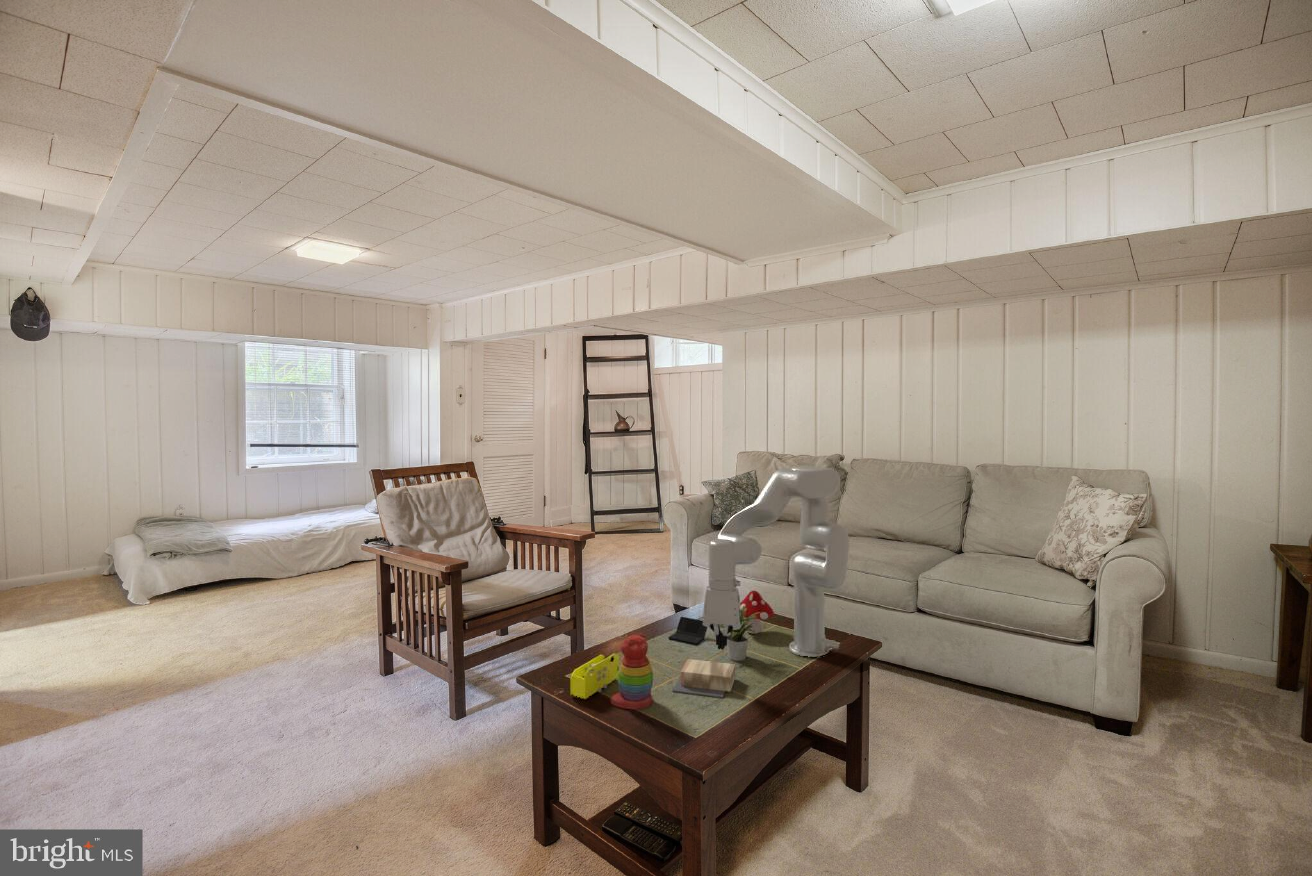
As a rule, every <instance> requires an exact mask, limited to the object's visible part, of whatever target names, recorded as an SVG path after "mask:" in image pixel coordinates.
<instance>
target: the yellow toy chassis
mask: <svg viewBox="0 0 1312 876" xmlns="http://www.w3.org/2000/svg"><path fill="white" fill-rule="evenodd" d="M619 669H620V656H619V655H618V654H617V653H613V654H611V655H609V656H605V655H604V654H599V655H598V656H596V657H594V658H592V659H591V660H589V661H587V662H586V663H584V664H582V665H580V666H579V667H577V668H575V669H573V672H572V674H571V675H570V676H569V677H570V681H569V682H570V683H569V684H570V696H572V695H573V696H574V697H576V696H577V697H576V698H579V697H580V698H579V699H583V700H586V699H588V698H590V697H589V696H591V697H592V695H593V694H595V693H597V692H598V693H601V692H602V688H603V689H607V688H608V685H610V684H611V683H612V682H614V681H615V680H616V679H618V673H619Z"/></svg>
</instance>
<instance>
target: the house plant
mask: <svg viewBox="0 0 1312 876" xmlns="http://www.w3.org/2000/svg"><path fill="white" fill-rule="evenodd" d="M746 609H747V608H745V609H744V607H743V609H742V611H741V613H740V625H741V627H740V629H737V630H732V631H731V632H730V633H729V634H727V646H726V647H727V654H728V658H729V659H730V660H732V661H736V662H737V661H738V662H739V661H740V662H741V661H744V660H745V659H746V656H747V651H748V650H747V649H748V645H749V637H748V636H747V633H746V632H748V631H752V632H754V633H755V631H754V630H751V629H749V628H752V627H753V626H752V624H755V623H752V624H750V625H749V626H747V627H746V625H748V621H749V620H750V619H751V618H757V617H758V616H757V617H754V615H755V614H757V613H754V614H752V615H751V616H749V617H748V618H744V617H745V612H746ZM758 613H760V612H758ZM750 623H751V622H750ZM720 629H724V625H720ZM747 630H748V631H747ZM745 633H746V634H745ZM744 634H745V635H744ZM755 635H757V634H756V633H755Z"/></svg>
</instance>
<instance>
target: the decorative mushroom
mask: <svg viewBox="0 0 1312 876" xmlns="http://www.w3.org/2000/svg"><path fill="white" fill-rule="evenodd" d="M763 598H764V597H763V596H762V594H761V593H760V592H758V591H757V590H751V591H749V592H748V593H747V594H746V596H745V597H743V598H742V600H741V601H740V613H741V611H742V609H743V607H744V609H745V608H747V609H746V612H745V617H744V619H746V618H748V617H749V616H751V615H752V614H754V613H757V614H755V615H754V617H757V616H758V617H757V618H751V619H750V620H749V621H748V625H746V626H745V627H747V626H749V625H750V624H752V623H755V624H752V626H753V627H752V628H749V629H751V630H754V631H755V633H756V634H755V633H754V632H752V631H748V630H747V631H746V632H747V633H750V634H753V635H754V634H755V635H757V634H759V633H761V632H762V629H763V628H762V623H761V620H766V619H769V618H772V616H774V614H775V612H774V610H773V608H772V607H771V605H770V604H769V603H768V602H767V601H765V599H763ZM758 612H760V613H758ZM750 622H751V623H750Z"/></svg>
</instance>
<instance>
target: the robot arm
mask: <svg viewBox="0 0 1312 876" xmlns="http://www.w3.org/2000/svg"><path fill="white" fill-rule="evenodd" d="M840 486H841V478H840V474H839V473H838V471H836V470H835V469H833V468H831V467H822V466H811V465H796V466H793V467H792V468H780V469H777V470H775V471H774V472H773V473H772V475H771V476H770V478H769V479H768V481H767V482H766V484H765V485H764V487H763V488H762V490H761V492H760V493H759V495H758V496H757V497H756V499H755V500H754V501H753V502H752V504H750V505H749V506H746V507H745V508H743V509H742V510H740V511H739V512H737V513H735V514H734V515H732V516H731V517H730V518H729V519H728V520H727V521H726V523H725V525H723V527H722V529H721V530H720V532H719V533H718V535H717V537H716V538H715V539H712V540H710V542H709V544H708V585H707V586H706V588H705V593H704V602H703V611H702V612H703V614H702V615H703V616H702V617H703V620H702V621H703V626H706V627H707V628H710V630H712V632H713V633H714V635H715V646H717V650H722V651H724V649H725V647H727V636H728V635H729V634H731V633H730V632H731V631H732V630H737V629H740V627H741V626H742V624H741V625H740V602H741V598H740V592H739V586H740V587H741V580H738V579H737V577H736V566H737V565H751V564H754V563H756V562H757V561H758V560H759V559H760V558H761V556H762V553H763V551H762V546H761V544H760V543H759V541H757V540H756V539H754V538H752V537H749V536H744V534H745V533H747V531H749V530H751V529H754V528H757V527H760V526H764V525H767V524H771V523H773V522H776V521H778V519H779V518H780V517H781V515H782V513H783V511H784V510H785V508H786V506H787V505H788V504H789V502H790V500H791V499H793V498H794V499H799V500H800V503H801V513H800V514H801V516H800V523H799V525H800V526H799V534H798V535H799V538H798V539H799V542H800V545H801V546H802V547H804V548H805V549H809V550H814V551H817V552H821V553H825V556H823V555H820V554H816V553H811V552H801V553H798V554H797V555H795V557H794V558H793V559H792V562H791V573H792V580H793V589H794V602H793V603H794V604H793V605H794V607H793V608H794V614H793V615H794V616H793V617H794V619H793V623H794V624H793V625H794V626H793V633H794V634H793V641H791V642H790V643H789V644H788V645H789V646H788V649H789V651H790V652H791V653H792V654H794V655H797V656H799V655H800V657H803V656H808V657H807V658H810V656H822V655H825V654H827V653H828V652H829V653H830V649H834V650H840V643H839V642H836V640H831V639H830V640H829V639H828V638H826V634H825V620H826V618H825V617H826V616H825V614H826V612H825V611H826V598H825V593H824V589H828V590H833V591H836V590H839V589H841V588H842V587H843V586H844V584H845V582H846V578H847V571H848V563H849V562H848V560H849V550H850V537H849V533H848V531H847V529H846V528H845V526H843V525H841V524H838V523H835V522H830V521H829V509H830V507H829V501H828V499H827V497H830V496H833V495H835V494H836V493H837V492H838V490H839V488H840ZM823 588H824V589H823ZM720 625H723V626H724V628H723V631H722V630H721V627H720Z"/></svg>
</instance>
